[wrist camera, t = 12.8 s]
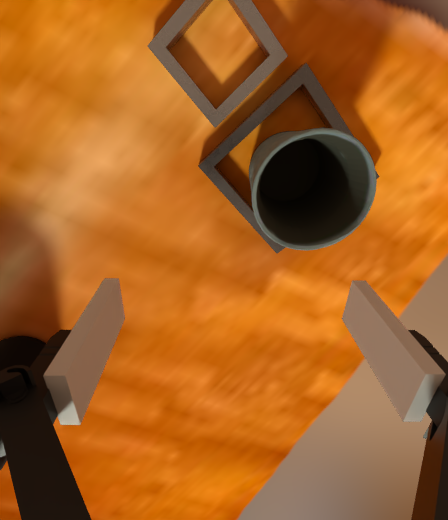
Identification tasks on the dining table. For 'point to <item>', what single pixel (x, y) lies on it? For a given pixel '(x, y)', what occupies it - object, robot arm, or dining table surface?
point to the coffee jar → (18, 357)
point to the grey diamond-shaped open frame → (160, 47)
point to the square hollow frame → (298, 79)
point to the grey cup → (311, 187)
